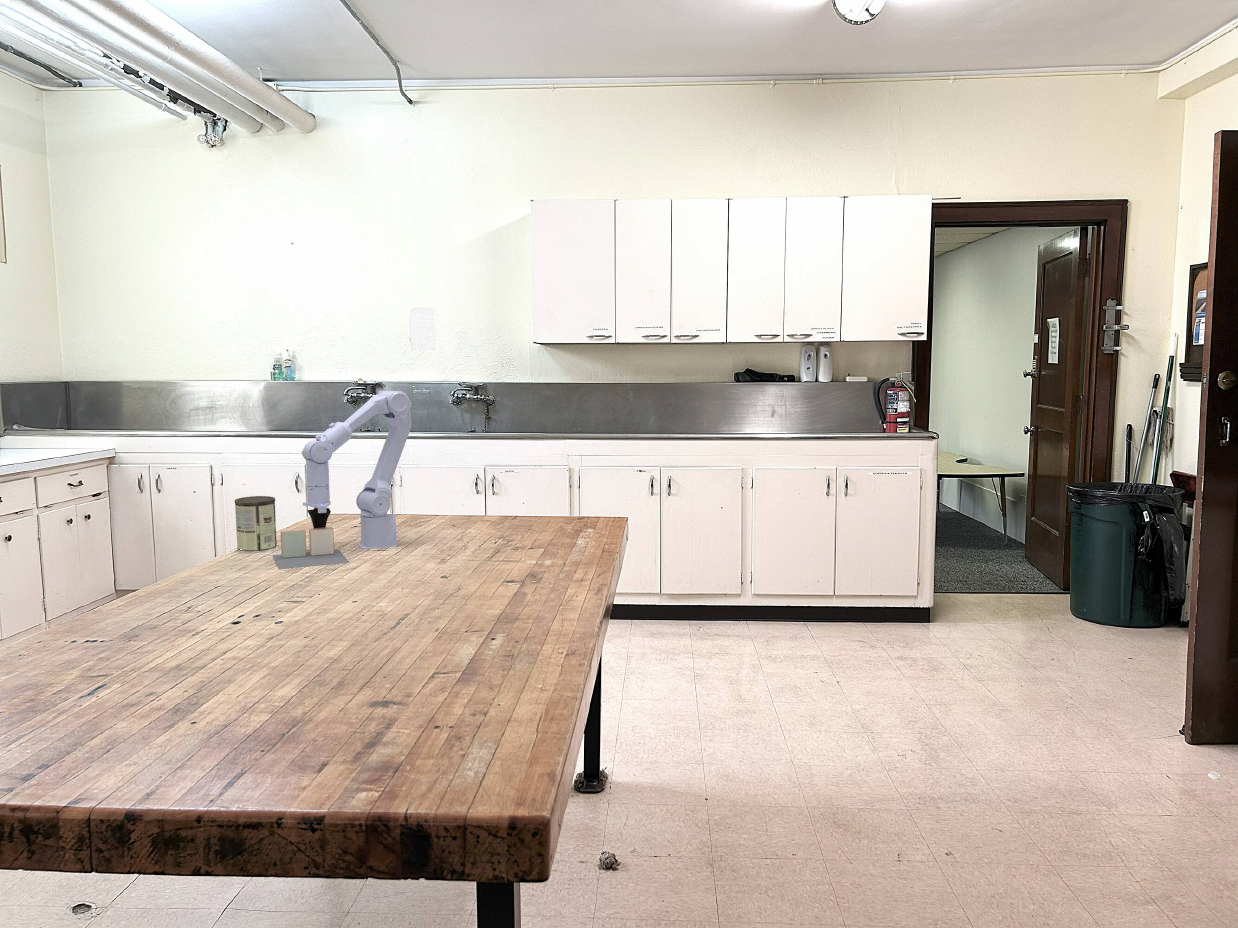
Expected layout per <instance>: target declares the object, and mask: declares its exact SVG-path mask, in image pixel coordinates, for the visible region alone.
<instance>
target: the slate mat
mask: <svg viewBox="0 0 1238 928" xmlns="http://www.w3.org/2000/svg"><path fill="white" fill-rule="evenodd" d="M306 555H307V556H306V557H294V558H283V559H282V557H281V554H280V553H279V554H272V555H271V556H272V558H273V561H274V563H275V564H276V567H277V569H278V570H287V569H297V568H307V567H308V568H309V567H320V566H329V565H330V566H332V565H339V564H340V565H341V564H342V565H343V564H350V563H351V562H350V561H349V559H347V557H346V556H345V555H344V553H342V551H341V550H340V549H334V554H329V555H317V556H310V553H309V551H306Z"/></svg>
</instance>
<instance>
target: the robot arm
mask: <svg viewBox="0 0 1238 928" xmlns="http://www.w3.org/2000/svg"><path fill="white" fill-rule="evenodd" d="M412 405H413V404H412V402H411V400H410V398H409V396H408V395H407V393H405V392H404V391H401V390H387V389H385V390H384V389H383V390H381V391H379V392H377V394H375V395H372V396H371V397H370V398H369V399H368V400H367V401H366V402H365V403H364V404H363V405H361V407H359V408H358V409H357V410H356V411H355V412H354V413H353V414H352V415H350V416H349V417H348V418H347V419H346V420H345V421H343V422H342V421H336V422H331V423H330V424H329V425H328V427H329V428H327V429H326V430H325V431H323V432H322V433H321V434H317V435H316V436H315V437H314V438H315V440H309V441H307V442H306V443H305V445H304V446H303V449H302V451H301V454H302V455H301V456H303V459H305V464H306V465H305V467H306V469H305V473H306V476H305V478H306V501H304V502H302V506H303V507H305V506H306V507H311V508H313V509H307V510H306V511H307V513H308V515H309V517H310V520H311V523H312V528H324V527H327V523H328V519H329V516H330V515H331V512H332V511H331V509H330V508H329V506H331V504H332V503H331V496H330V469H329V466H330V465H329V461H330V460H331V458H332V456H333V453H334V452H336V451H337V450H338V449H339V448H341V447H342V446H343V445H345V444H346V443H347V442H348V441H349V440H351V439H352V437H353V432H354V431H355V430H356V429H358V428H359V427H360V426H362V425H363V424H365V423H366V422H367V421H369V420H370V419H372V418H373V417H374V416H376V415H383V416H384V417H385V418H386V420H387V422H388V424H389V426H390V428H389V431H388V434H387V435H386V439H385V441H384V443H383V447H382V449H381V452H380V455H379V457H378V459H377V463H376V465H375V468H374V471H373V473H372V476H371V478H370V479H369V480H368V481H367V482H366V483H365V484H364V487H363V489H362V490H361V491H360V492H358V494H357V497H356V499H355V503H356V506H357V508H358V509H359V510H360V513H359V514H360V542H358V543H357V545H358V546H359V547H360V548H361V549H362V550H368V549H369V550H370V549H381V548H392V547H398V544H397V541H398V540H397V539H398V538H397V520H396V515H395V514H392V513H390V514H389V513H388V512H389V510H390V508H391V506H392V505H391V504H392V503H391V497H392V495H393V490H392V487H391V483H392V480H393V477H394V475H395V473H396V469H397V467H398V464H399V463H400V462H399V461H400V459H401V457H402V453H403V450H404V448H405V446H406V443H407V440H408V437H409V435H410V432H411V429H412V427H413V426H412V425H413V424H412V415H411V413H412V412H411V408H412V407H413V406H412Z"/></svg>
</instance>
